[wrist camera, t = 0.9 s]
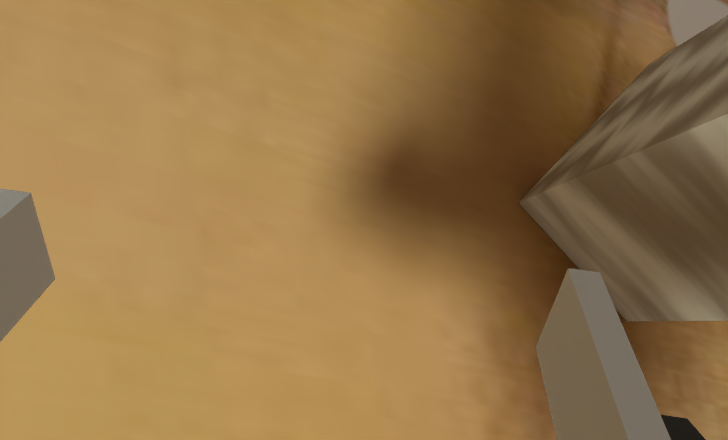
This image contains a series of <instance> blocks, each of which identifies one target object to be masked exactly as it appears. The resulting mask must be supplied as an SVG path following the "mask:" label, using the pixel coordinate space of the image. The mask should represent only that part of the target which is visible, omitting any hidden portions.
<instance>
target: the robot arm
mask: <svg viewBox="0 0 728 440" xmlns="http://www.w3.org/2000/svg"><path fill="white" fill-rule="evenodd" d="M54 280H55V276H54V273H53V269H52V266H51V262H50V259H49V255H48V252H47V248H46V245H45V241H44V238H43V234H42V230H41V227H40V223H39V220H38V216H37V213H36V209H35V206H34V202H33V199H32V195H31V193H28V192H21V191H14V190H7V189H0V342H1V340H2V339H3V338H4V337H5V336H6V335H7V334H8V332H9V331H10V330H11V329H12V328H13V327H14V326H15V324H16V323H17V322H18V321H19V320H20V319H21V318H22V316H23V315H24V314H25V313H26V312H27V311H28V310H29V308H30V307H31V306H32V305H33V304H34V303H35V301H36V300H37V299H38V298H39V297H40V296H41V295H42V293H43V292H44V291H45V290H46V289H47V288H48V287H49V285H50V284H51V283H52V282H53V281H54ZM536 352H537V356H538V360H539V365H540V369H541V374H542V378H543V382H544V387H545V391H546V395H547V400H548V404H549V409H550V413H551V417H552V422H553V426H554V431H555V435H556V439H557V440H705V439H704V437H703V436H702V435H701V434H700V433H699V432H698V431H697V429H696V428H695V427H694V426H693V425H692V424H691V423H690V421H689V420H688V419H686V418H679V417H672V416H665V415H660V413H659V410H658V408H657V405H656V403H655V401H654V398H653V396H652V394H651V391H650V389H649V387H648V384H647V382H646V380H645V377H644V375H643V373H642V370H641V368H640V365H639V363H638V361H637V358H636V356H635V354H634V351H633V349H632V347H631V344H630V342H629V340H628V337H627V335H626V332H625V330H624V328H623V325H622V323H621V321H620V318H619V316H618V314H617V311H616V309H615V307H614V304H613V302H612V300H611V297H610V295H609V292H608V290H607V288H606V285H605V283H604V281H603V278H602V276H601V274H600V272H593V271H586V270H579V269H571V268H568V270H567V272H566V274H565V277H564V279H563V282H562V284H561V287H560V289H559V291H558V294H557V296H556V299H555V301H554V304H553V306H552V308H551V311H550V313H549V316H548V318H547V321H546V323H545V325H544V328H543V330H542V333H541V335H540V338H539V340H538V342H537V345H536Z"/></svg>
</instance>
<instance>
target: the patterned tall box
mask: <svg viewBox="0 0 728 440" xmlns="http://www.w3.org/2000/svg"><path fill="white" fill-rule="evenodd" d="M518 203H519V204H520V205H521V206H522V207H523V208H524V209H525V210H526V212H527V213H528V214H529V215H530V216H531V217H532V218H533V219H534V220H535V221H536V223H537V224H538V225H539V226H540V227H541V228H542V229H543V230H544V231H545V232H546V234H547V235H548V236H549V237H550V238H551V239H552V240H553V241H554V242H555V243H556V244H557V246H558V247H559V248H560V249H561V250H562V251H563V252H564V253H565V254H566V255H567V257H568V258H569V259H570V260H571V261H572V262H573V263H574V264H575V265H576V266H577V267H578V269H579V270H586V271H593V272H600V274H601V276H602V278H603V281H604V283H605V285H606V288H607V290H608V292H609V295H610V297H611V300H612V302H613V304H614V307H615V309H616V310H617V311H618V312H619V314H620V315H621V316H622V317H623V318H624V319H625V320H626V321H728V16H726V17H725V18H723V19H721V20H720V21H718V22H717V23H715V24H713V25H712V26H710V27H708V28H707V29H705V30H704V31H702V32H700V33H699V34H697V35H696V36H694V37H693V38H691V39H689V40H688V41H686V42H684V43H683V44H681V45H679V46H678V47H676V48H675V49H673V50H671V51H670V52H668V53H667V54H665V55H663V56H662V57H660V58H659V59H657V60H655V61H654V62H652V63H651V64H649V65H648V66H647V67H646V68H645V69H644V71H643V72H642V73H641V74H640V75H639V76H638V77H637V78H636V79H635V80H634V81H633V82H632V83H631V84H630V85H629V86H628V87H627V88H626V90H625V91H624V92H623V93H622V94H621V95H620V96H619V97H618V98H617V99H616V100H615V101H614V102H613V103H612V104H611V105H610V106H609V107H608V108H607V110H606V111H605V112H604V113H603V114H602V115H601V116H600V117H599V118H598V119H597V120H596V121H595V122H594V123H593V124H592V125H591V126H590V127H589V129H588V130H587V131H586V132H585V133H584V134H583V135H582V136H581V137H580V138H579V139H578V140H577V141H576V142H575V143H574V144H573V145H572V146H571V147H570V149H569V150H568V151H567V152H566V153H565V154H564V155H563V156H562V157H561V158H560V159H559V160H558V161H557V162H556V163H555V164H554V165H553V166H552V168H551V169H550V170H549V171H548V172H547V173H546V174H545V175H544V176H543V177H542V178H541V179H540V180H539V181H538V182H537V183H536V184H535V185H534V186H533V188H532V189H531V190H530V191H529V192H528V193H527V194H526V195H525V196H524V197H523V198H522V199H521V200H520V201H519V202H518Z"/></svg>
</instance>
